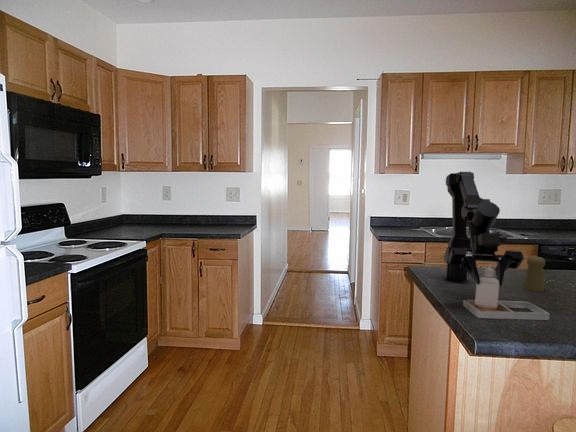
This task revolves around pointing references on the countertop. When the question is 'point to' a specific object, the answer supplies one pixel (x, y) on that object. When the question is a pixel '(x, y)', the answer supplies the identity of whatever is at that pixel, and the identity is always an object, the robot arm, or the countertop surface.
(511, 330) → the countertop surface
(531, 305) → the tray
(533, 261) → the cork
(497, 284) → the eye dropper bottle
